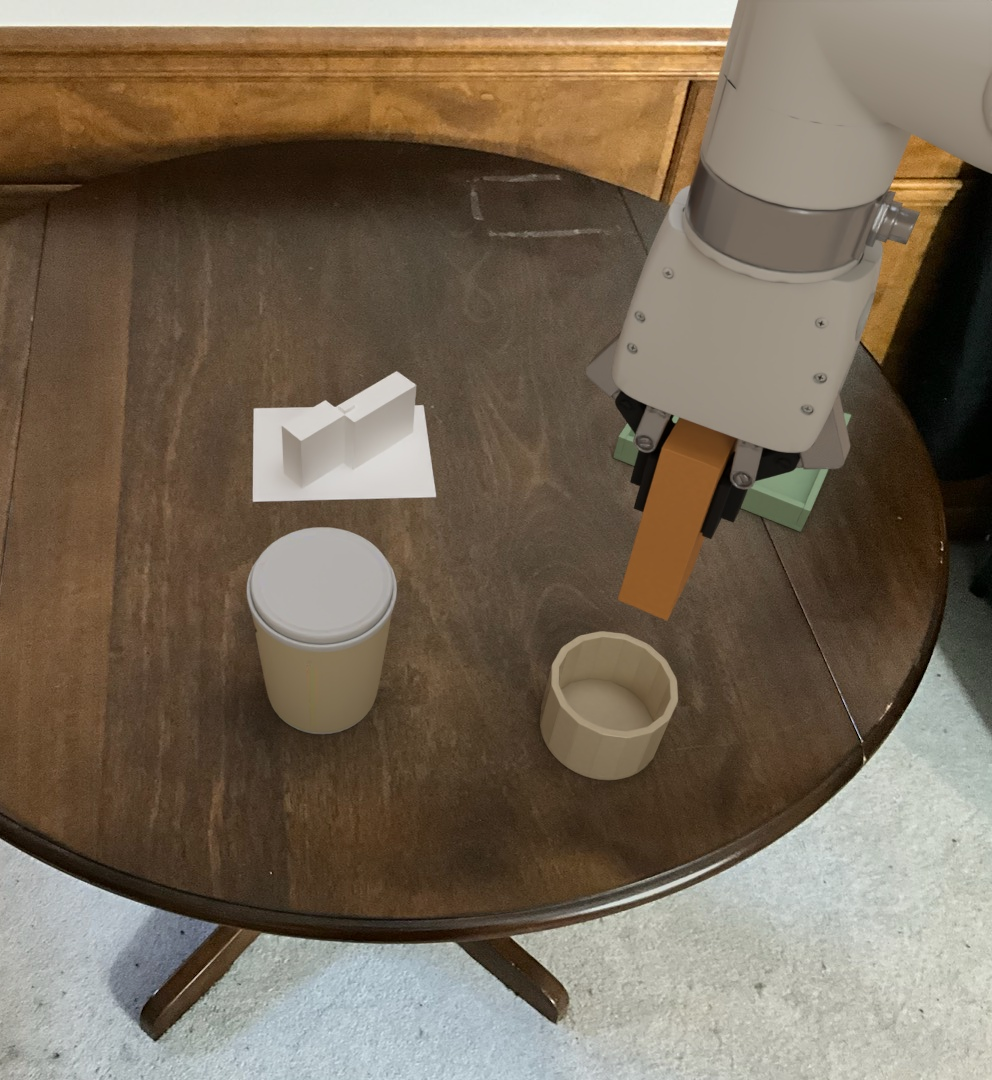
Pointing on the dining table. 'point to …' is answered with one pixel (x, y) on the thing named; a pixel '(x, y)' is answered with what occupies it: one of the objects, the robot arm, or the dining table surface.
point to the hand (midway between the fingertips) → (681, 505)
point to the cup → (607, 705)
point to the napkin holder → (345, 448)
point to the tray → (761, 487)
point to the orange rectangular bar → (675, 516)
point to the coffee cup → (321, 626)
